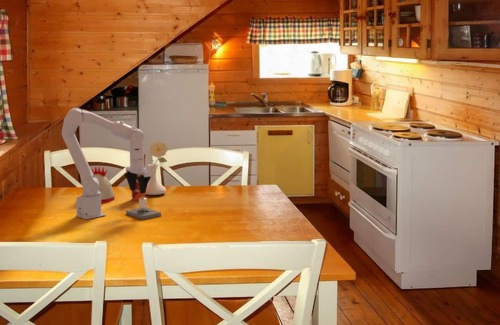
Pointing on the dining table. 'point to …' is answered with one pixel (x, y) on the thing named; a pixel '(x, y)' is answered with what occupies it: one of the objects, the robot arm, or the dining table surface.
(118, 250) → the dining table surface
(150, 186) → the flower in vase
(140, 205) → the battery cell
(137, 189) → the paper cup
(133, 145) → the robot arm
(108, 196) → the kitchen timer
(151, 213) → the block
